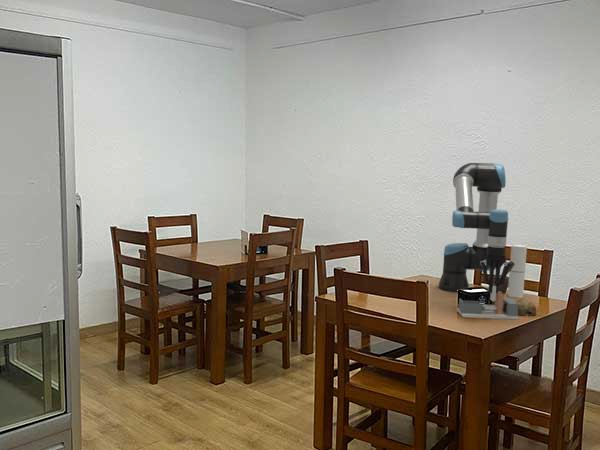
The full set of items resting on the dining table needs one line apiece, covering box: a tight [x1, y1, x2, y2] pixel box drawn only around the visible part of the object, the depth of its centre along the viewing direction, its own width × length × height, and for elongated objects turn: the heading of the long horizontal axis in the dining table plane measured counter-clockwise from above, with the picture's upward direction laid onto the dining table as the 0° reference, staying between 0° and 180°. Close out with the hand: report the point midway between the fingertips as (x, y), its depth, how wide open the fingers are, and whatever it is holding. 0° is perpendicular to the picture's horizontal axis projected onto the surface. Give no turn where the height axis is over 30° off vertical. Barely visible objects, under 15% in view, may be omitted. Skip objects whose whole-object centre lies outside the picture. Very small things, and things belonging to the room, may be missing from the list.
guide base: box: [456, 297, 519, 320], centre depth 264 cm, size 12×23×6 cm, turn 88°
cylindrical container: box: [507, 244, 528, 299], centre depth 301 cm, size 7×7×25 cm
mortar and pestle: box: [491, 260, 514, 305], centre depth 285 cm, size 12×9×20 cm
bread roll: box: [516, 299, 537, 317], centre depth 269 cm, size 10×10×8 cm
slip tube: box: [481, 291, 507, 314], centre depth 264 cm, size 4×14×9 cm, turn 88°
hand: (492, 300), depth 264 cm, fingers closed
